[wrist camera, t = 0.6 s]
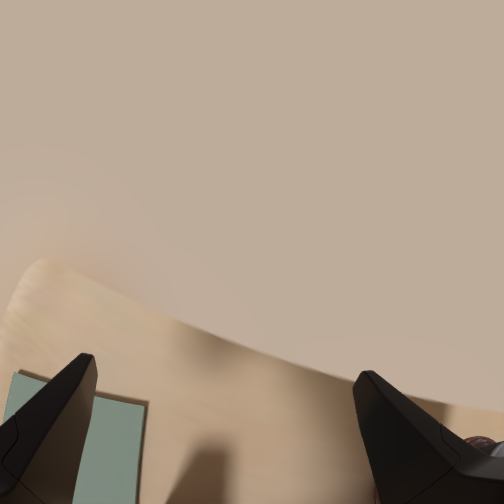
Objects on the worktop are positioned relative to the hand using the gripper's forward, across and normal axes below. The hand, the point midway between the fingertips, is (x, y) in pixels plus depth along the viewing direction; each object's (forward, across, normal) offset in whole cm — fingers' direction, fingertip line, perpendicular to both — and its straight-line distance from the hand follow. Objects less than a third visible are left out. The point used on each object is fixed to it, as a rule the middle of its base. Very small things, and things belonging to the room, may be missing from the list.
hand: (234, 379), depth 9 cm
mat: (+2, +10, +15) cm, 19 cm away
